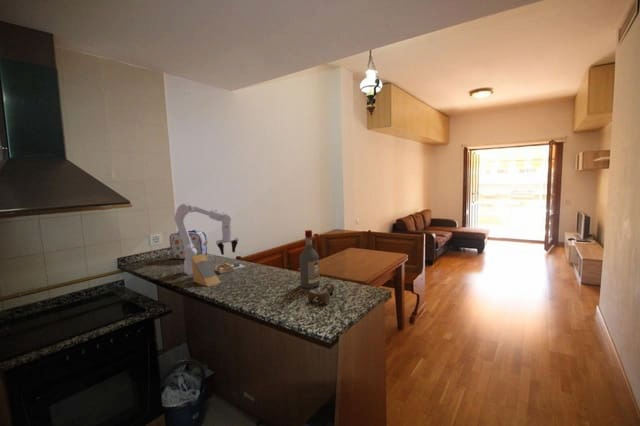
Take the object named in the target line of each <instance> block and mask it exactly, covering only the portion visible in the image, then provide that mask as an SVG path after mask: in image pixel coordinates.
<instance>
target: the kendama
mask: <svg viewBox="0 0 640 426" xmlns="http://www.w3.org/2000/svg"><path fill="white" fill-rule="evenodd" d="M321 289H322V290H321V292H316V291H315V290H313V289H309V291H308V293H307V300H308V302H310V303H311V301H312V303H314V302H316V301H320V302H322V303H323V304H324V305H326V304H327V303H328V302H329V303H330V299H331V295H330V294H332V292H333V293H334V292H335V286H334V285H333V283H329V282H328V283H325V285H324V286H323V287H322V288H321ZM329 303H328V304H329ZM328 304H327V305H328Z"/></svg>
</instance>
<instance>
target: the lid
mask: <svg viewBox="0 0 640 426" xmlns="http://www.w3.org/2000/svg"><path fill="white" fill-rule="evenodd" d="M231 265H232V266H234V270H238V269H242V268H246V265H244V264H241V263H240V262H238V261H235V262H233V264H231Z"/></svg>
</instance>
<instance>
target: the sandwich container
mask: <svg viewBox="0 0 640 426" xmlns="http://www.w3.org/2000/svg"><path fill="white" fill-rule="evenodd" d="M192 268H193V274H192V276H193V277H192V278H193V282H194V283H197V284H199V285H202V286H205V287H212V286H215V285H218V284H220V283H221V280H220V279H219V277H218V275H217V274H216V272H215V269H214V268H213V266H212V265H211V263H210V261H209V260H208V257H207V254H206V255H205V254H201V255H196V256H192Z"/></svg>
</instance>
